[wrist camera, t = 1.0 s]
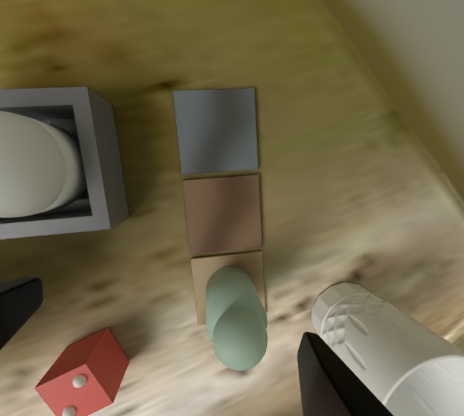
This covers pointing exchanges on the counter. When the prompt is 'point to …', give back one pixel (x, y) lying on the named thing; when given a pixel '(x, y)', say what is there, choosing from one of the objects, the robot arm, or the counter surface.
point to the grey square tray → (93, 155)
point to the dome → (37, 166)
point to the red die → (84, 376)
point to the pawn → (235, 318)
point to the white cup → (391, 352)
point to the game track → (220, 183)
